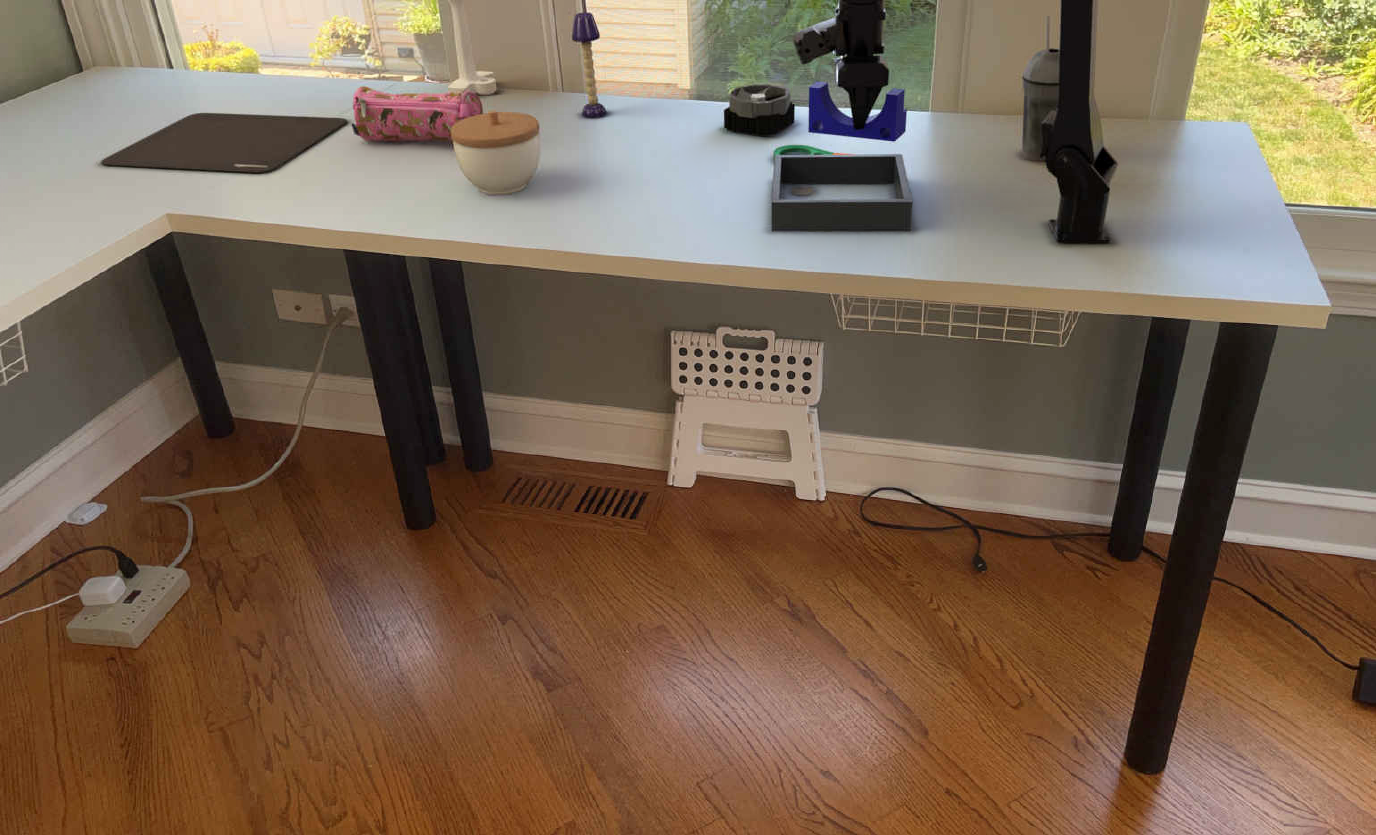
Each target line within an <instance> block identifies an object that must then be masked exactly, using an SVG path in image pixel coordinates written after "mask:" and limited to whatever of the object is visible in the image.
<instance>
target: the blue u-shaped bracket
mask: <svg viewBox="0 0 1376 835" xmlns="http://www.w3.org/2000/svg"><path fill="white" fill-rule="evenodd" d="M905 90H906V88H897V87H893V88H891V90H889V91H888V92H887V93H886V94H885V99H884V103H883V105H882V108H881V110H880V111H879V113H876V114H873V115H869V117H868V119H867V121H866V123H865V125H864V127H863V129H862V130H855V129H854V125H853V119H852V116H849V115H847V114H845V113H844V112H842V110H840V109H839V108H838V107H837V105H836V104H835V103H834V101H833V98H832V96H831V93H830V89H829V82H827V81H819V80H818V81H816V82H814V83H813V84H812V85H810V86H809V87H808V128H807V130H808V133H812V134H819V135H830V136H838V137H839V136H840V137H848V138H857V139H867V140H875V141H876V140H877V141H884V142H885V141H887V142H893V143H895V142H897V140H898V139H900V138H901V136H903V135H904V134H905V133H906V131H907V130H906V129H907V113H908V109H907V108H905V93H906V92H905Z"/></svg>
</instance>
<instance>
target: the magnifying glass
mask: <svg viewBox="0 0 1376 835" xmlns="http://www.w3.org/2000/svg"><path fill="white" fill-rule="evenodd" d="M794 153H799V154H800V153H801V154H806V155H859V154H856V153H846V152H845V153H843V152H833V151H829V150H826V149H825V150H824V149H821V148H818V147H814V146H811V145H806V144H787V145H782V146H778V147H776V148H775V149H774V150H773V157H774V156H775V155H787V154H794Z"/></svg>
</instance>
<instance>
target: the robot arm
mask: <svg viewBox="0 0 1376 835" xmlns="http://www.w3.org/2000/svg"><path fill="white" fill-rule="evenodd" d="M885 1H886V0H838V4H837V7H835V10H834V17H833V18H830V19H828V20H824V21H820V22H817V23H816V24H813V25H811V26H808V27H805V28H804V29H801V30H799V31H797V32H795V33H794V34H792V42H793V45H794V48H795V51H796V54H797V56H798V59H799V62H800V64H801V65H807V64H809V63H812V62H813V60H815V59H818V58H821V57H823V56H826V55H828V54H831V53H833V55H834V56H835V57H836V58H834V65H835V67H836V87H837V88H841V89H843V90H844V91H845V92H847V95H848V100H849V106H850V112H851V118H852V119H853V125H854V129H855V130H862V129H863V127H864V125H865V123H866V121H867V119H868V117H869V116H870V114H871V112H872V110H873V108H874V106H875V104H876V102H877V100H878V98H879V96H880V94H881V92H882V90H883V88H884V87H888V86H889V83H890V82H889V79H890V78H889V77H890V69H889V65H888V62H887V61H886V60H885V59H884V58H883V57H882V56H881V55H884V54H885V45H884V24H885V21H886V13H887V12H886V8H885V5H886V4H885ZM1098 5H1099V0H1060V11H1059V12H1060V14H1059V16H1060V17H1059V50H1060V52H1059V95H1058V107H1057V111H1054V110H1051V111H1050V113H1049V114H1048V116H1047V117H1046V118H1045V120H1044V121H1043V123H1042V124H1041V132H1042V138H1043V148H1042V152H1041V154H1040V158H1042V157H1044V156H1046V158H1045V161H1044V162H1045V167H1046V169H1047V172H1049V173H1050V174H1051V175H1052V176H1053V177H1054V178H1056V183H1057V186H1058V190H1059V191H1058V192H1059V194H1060V196H1059V204H1058V209H1057V217H1056V219H1055V218H1054V219H1049V220H1048V222H1047V223H1048V226H1049V228H1050V231H1051V232H1052V234H1053V237H1054V239H1055V241H1056V242H1057V243H1060V244H1062V243H1063V244H1066V243H1067V244H1079V243H1080V244H1107V243H1110V242H1111V239H1112V238H1111V236H1110V235H1109V232H1108V231H1107V228H1105V222H1106V221H1105V220H1106V215H1107V209H1108V204H1109V199H1110V192H1111V186H1109V185H1110V183H1111V182H1112V181H1111V180H1112V179H1113V177H1114V175H1115V173H1116V171H1117V169H1118V167H1119V163H1118V161H1117V160H1116V159H1115V157H1114V156H1113V155H1112V154H1111V153H1110V152H1109V151H1108V148H1106V146H1104V135H1103V128H1102V121H1101V115H1100V112H1099V109H1098V106H1097V102H1096V97H1095V85H1096V84H1095V82H1096V80H1095V78H1096V60H1097V59H1096V58H1097V57H1096V56H1097V52H1096V51H1097V29H1098Z"/></svg>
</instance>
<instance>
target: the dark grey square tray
mask: <svg viewBox="0 0 1376 835" xmlns="http://www.w3.org/2000/svg"><path fill="white" fill-rule="evenodd" d="M772 172H773V174H772V187H771V189H772V190H771V203H770V204H771V207H770V208H771V210H770V211H771V217H770V218H771V226H770V227H771V228H770V229H771V230H770V231H771V232H910V231H911V229H912V228H911V227H912V215H913V214H912V212H913V198H912V194H911V189H910V185H909V180H908V176H907V171H906V166H905V163H904V157H903V154H902V153H879V154H878V153H876V154H872V153H870V154H869V153H868V154H867V153H865V154H859V155H810V154H783V155H775V156H774V155H773V171H772ZM838 184H839V185H843V184H844V185H849V184H850V185H853V184H856V185H860V184H868V185H869V184H870V185H871V184H873V185H874V184H893V188H894V192H895V197H896V198H871V199H870V198H861V199H860V198H859V199H858V198H857V199H856V198H847V199H846V198H844V199H843V198H842V199H840V198H839V199H838V198H837V199H826V198H825V199H817V198H816V199H781V196H782V185H838ZM813 192H814V191H813V189H812V188H810V187H806V186H805V187H804V186H801V187H795V188H793V189H791V194H792V195H795V196H801V197H802V196H803V197H804V196H809V195H812V194H813Z"/></svg>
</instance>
